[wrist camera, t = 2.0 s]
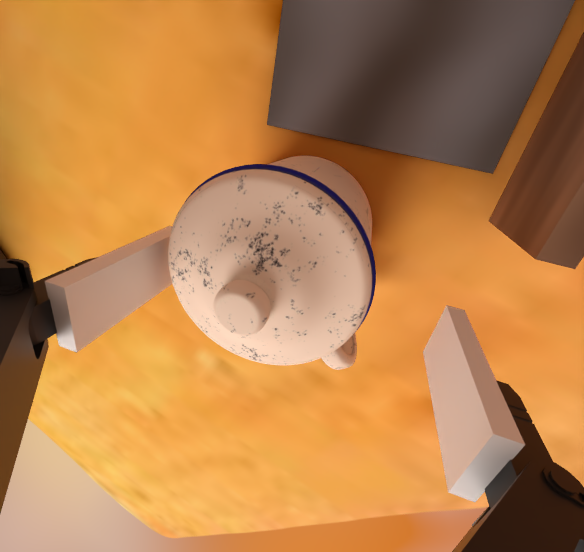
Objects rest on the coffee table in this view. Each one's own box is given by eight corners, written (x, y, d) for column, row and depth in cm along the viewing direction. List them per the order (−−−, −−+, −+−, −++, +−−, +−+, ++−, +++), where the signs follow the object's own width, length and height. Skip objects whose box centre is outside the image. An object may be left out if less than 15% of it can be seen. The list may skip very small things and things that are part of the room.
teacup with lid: (218, 195, 21) (72, 254, 11) (335, 119, 18) (277, 104, 7) (302, 330, 24) (248, 474, 14) (416, 290, 21) (455, 447, 10)
